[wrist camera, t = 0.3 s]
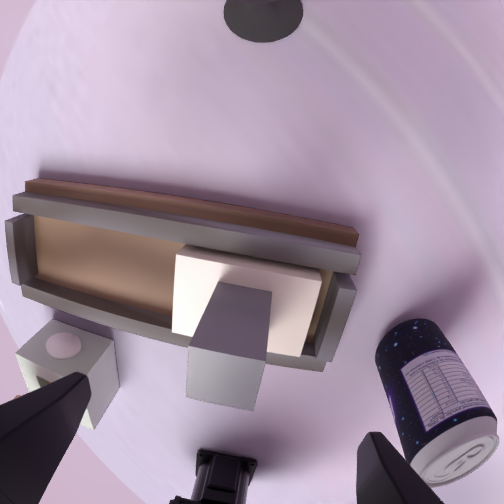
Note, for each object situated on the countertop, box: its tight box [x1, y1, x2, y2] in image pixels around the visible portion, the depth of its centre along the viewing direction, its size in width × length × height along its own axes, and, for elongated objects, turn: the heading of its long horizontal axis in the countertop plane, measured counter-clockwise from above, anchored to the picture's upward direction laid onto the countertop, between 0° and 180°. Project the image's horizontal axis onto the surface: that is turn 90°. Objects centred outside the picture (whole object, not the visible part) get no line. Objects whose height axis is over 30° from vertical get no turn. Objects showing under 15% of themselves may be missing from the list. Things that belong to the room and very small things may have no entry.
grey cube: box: [15, 319, 120, 430], centre depth 23 cm, size 6×7×6 cm
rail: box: [5, 178, 361, 372], centre depth 20 cm, size 10×24×4 cm, turn 81°
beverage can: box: [375, 319, 499, 488], centre depth 16 cm, size 6×6×12 cm
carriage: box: [172, 244, 322, 411], centre depth 16 cm, size 5×8×8 cm, turn 81°
